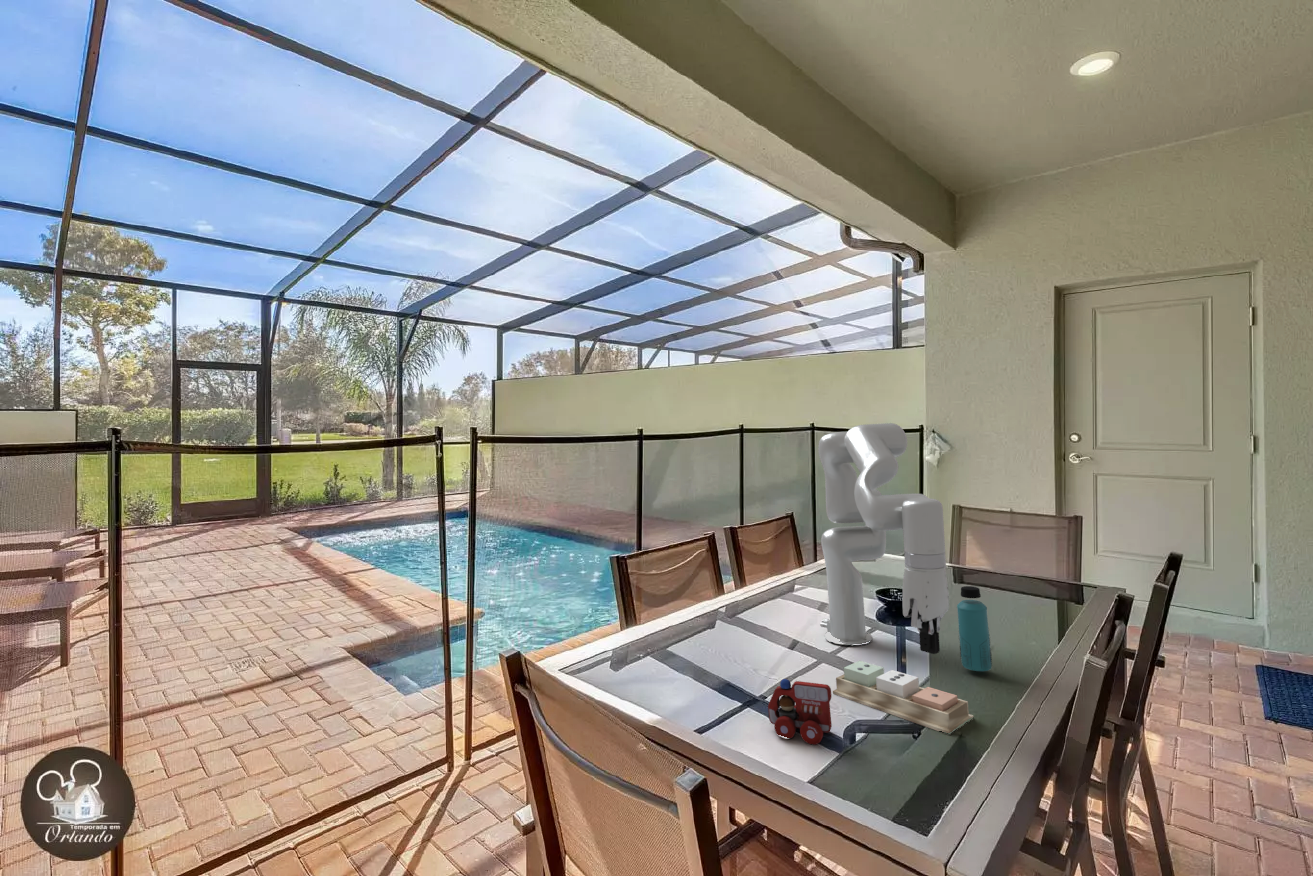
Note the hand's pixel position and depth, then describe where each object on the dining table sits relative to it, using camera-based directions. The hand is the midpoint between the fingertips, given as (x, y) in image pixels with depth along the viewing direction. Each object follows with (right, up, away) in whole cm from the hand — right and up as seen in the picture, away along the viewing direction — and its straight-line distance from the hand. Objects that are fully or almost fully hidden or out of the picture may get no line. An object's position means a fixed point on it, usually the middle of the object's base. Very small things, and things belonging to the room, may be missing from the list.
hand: (930, 651), depth 117 cm
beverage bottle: (+20, -13, +20) cm, 31 cm away
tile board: (-4, -13, +5) cm, 15 cm away
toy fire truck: (-27, -15, -4) cm, 31 cm away
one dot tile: (+1, -12, -1) cm, 12 cm away
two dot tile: (-9, -12, +12) cm, 19 cm away
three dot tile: (-4, -11, +5) cm, 13 cm away
